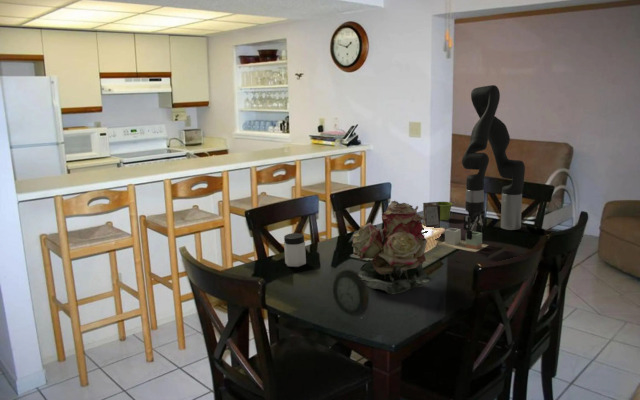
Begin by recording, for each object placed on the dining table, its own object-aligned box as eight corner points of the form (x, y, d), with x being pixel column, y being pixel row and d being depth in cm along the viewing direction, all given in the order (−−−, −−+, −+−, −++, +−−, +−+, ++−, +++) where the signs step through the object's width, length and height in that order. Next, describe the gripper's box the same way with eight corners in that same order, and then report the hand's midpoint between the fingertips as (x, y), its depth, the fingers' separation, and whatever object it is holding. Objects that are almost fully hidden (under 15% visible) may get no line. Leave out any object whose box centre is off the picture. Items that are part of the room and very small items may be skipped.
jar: (283, 261, 220) (281, 234, 217) (302, 259, 222) (300, 231, 220) (288, 268, 212) (286, 239, 209) (307, 265, 214) (306, 237, 211)
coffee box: (440, 240, 240) (440, 205, 237) (426, 240, 240) (426, 206, 237) (436, 234, 249) (436, 201, 245) (422, 235, 249) (422, 202, 246)
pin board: (451, 240, 238) (451, 227, 237) (488, 247, 226) (489, 233, 225) (437, 247, 230) (437, 233, 229) (475, 254, 218) (475, 240, 216)
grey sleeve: (450, 240, 235) (450, 227, 233) (460, 242, 231) (460, 229, 230) (444, 243, 231) (444, 230, 230) (455, 245, 228) (455, 231, 226)
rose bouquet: (345, 276, 200) (342, 200, 193) (411, 264, 210) (410, 191, 204) (376, 300, 176) (374, 214, 170) (449, 285, 186) (449, 203, 180)
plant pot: (441, 216, 282) (441, 200, 280) (455, 219, 275) (456, 203, 273) (430, 219, 276) (430, 203, 275) (444, 222, 269) (445, 206, 267)
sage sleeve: (471, 244, 228) (471, 231, 227) (481, 246, 224) (482, 232, 223) (465, 247, 224) (465, 233, 223) (476, 249, 221) (476, 235, 220)
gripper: (474, 195, 228) (474, 231, 231) (458, 202, 218) (457, 239, 221) (491, 197, 222) (490, 234, 226) (474, 204, 212) (474, 242, 216)
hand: (474, 236), depth 223 cm, fingers open, 8 cm apart
